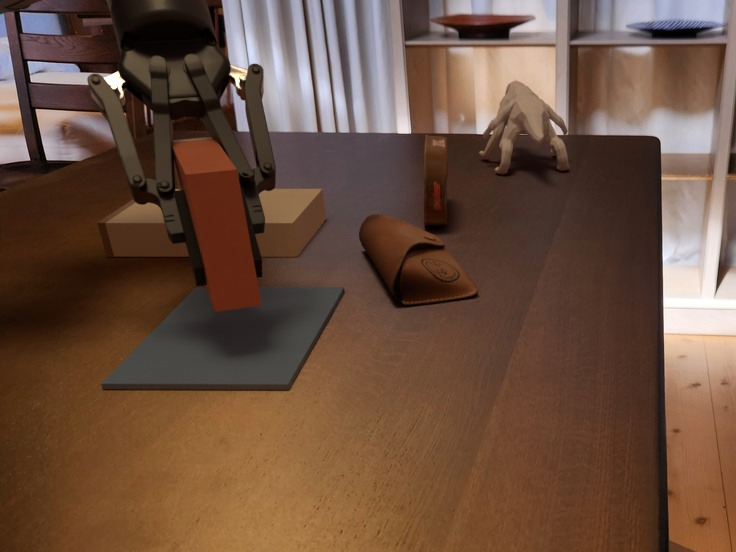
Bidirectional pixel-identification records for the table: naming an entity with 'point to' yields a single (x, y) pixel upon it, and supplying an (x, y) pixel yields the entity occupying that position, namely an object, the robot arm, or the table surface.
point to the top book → (218, 222)
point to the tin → (435, 180)
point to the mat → (230, 343)
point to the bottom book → (150, 239)
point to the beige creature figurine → (524, 126)
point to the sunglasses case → (414, 262)
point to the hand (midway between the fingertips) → (229, 272)
